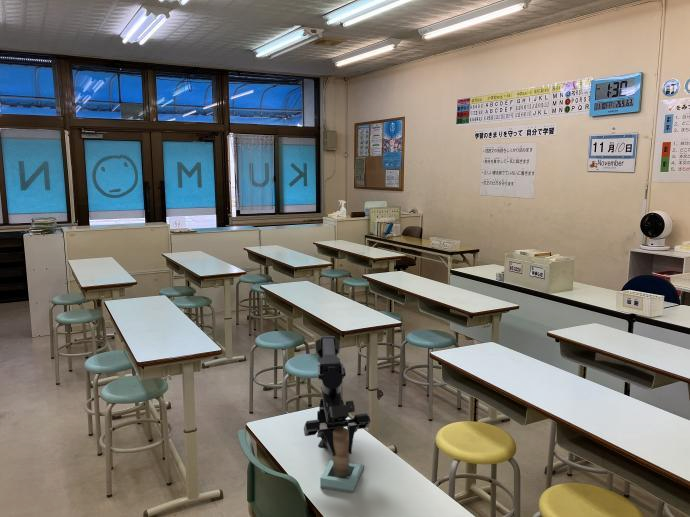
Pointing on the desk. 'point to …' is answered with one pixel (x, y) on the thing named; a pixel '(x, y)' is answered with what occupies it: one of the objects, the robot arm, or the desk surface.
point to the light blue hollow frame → (341, 483)
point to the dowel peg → (341, 452)
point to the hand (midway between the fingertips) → (342, 454)
